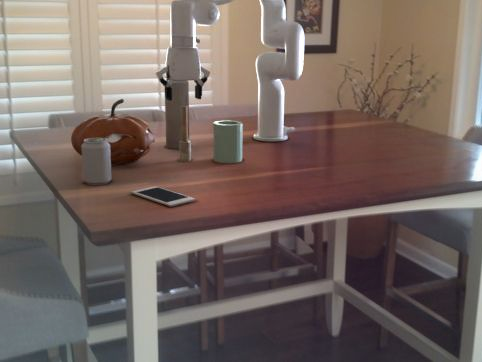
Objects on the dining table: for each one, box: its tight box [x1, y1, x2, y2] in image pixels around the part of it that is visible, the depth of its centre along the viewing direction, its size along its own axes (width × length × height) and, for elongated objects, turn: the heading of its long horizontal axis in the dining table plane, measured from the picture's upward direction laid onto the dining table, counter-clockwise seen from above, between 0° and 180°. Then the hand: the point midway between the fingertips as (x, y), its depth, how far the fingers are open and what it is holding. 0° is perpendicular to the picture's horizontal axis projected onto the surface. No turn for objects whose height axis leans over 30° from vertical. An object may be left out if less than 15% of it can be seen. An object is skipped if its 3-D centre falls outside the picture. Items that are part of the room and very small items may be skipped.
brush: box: [178, 106, 192, 162], centre depth 208 cm, size 4×4×17 cm
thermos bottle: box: [164, 81, 190, 150], centre depth 226 cm, size 8×8×28 cm
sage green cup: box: [212, 119, 244, 164], centre depth 210 cm, size 9×9×12 cm
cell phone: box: [131, 186, 195, 208], centre depth 170 cm, size 8×16×1 cm, turn 48°
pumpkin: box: [70, 98, 156, 166], centre depth 204 cm, size 25×25×19 cm
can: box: [81, 138, 112, 186], centre depth 181 cm, size 8×8×12 cm
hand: (183, 99), depth 205 cm, fingers open, 9 cm apart
